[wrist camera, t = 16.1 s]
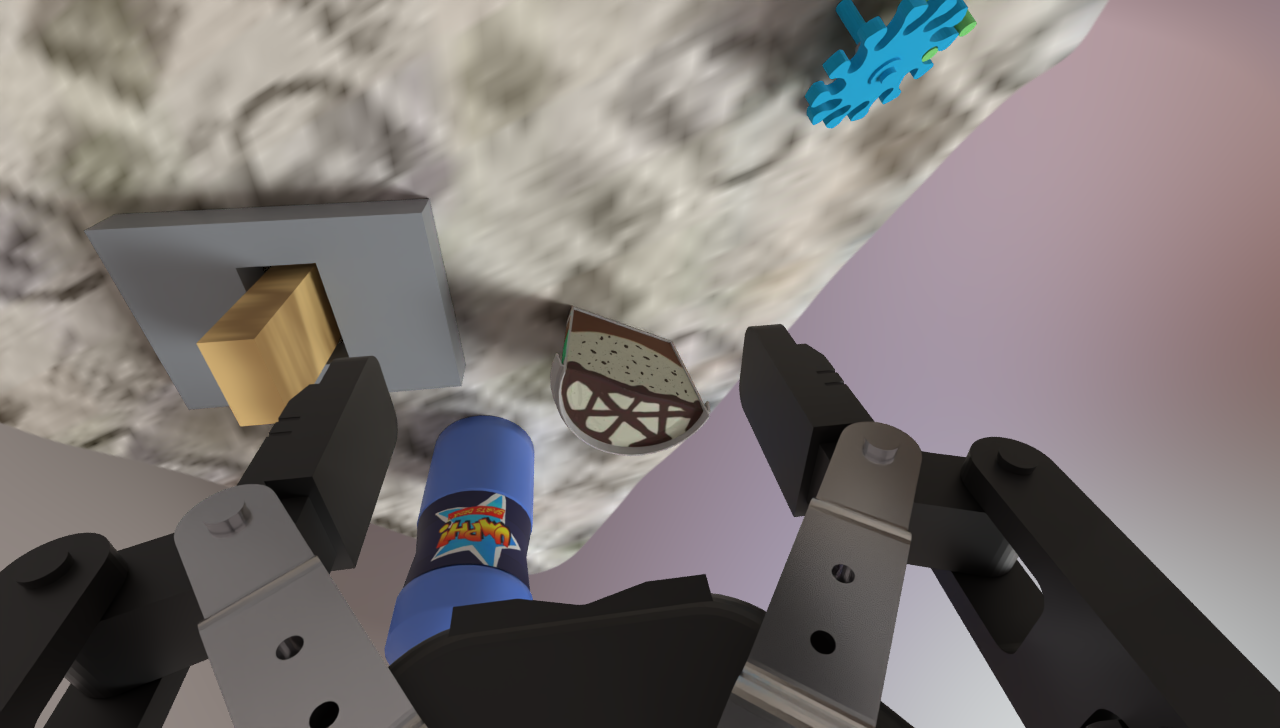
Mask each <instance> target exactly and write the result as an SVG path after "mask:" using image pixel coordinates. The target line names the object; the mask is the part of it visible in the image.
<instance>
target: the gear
mask: <svg viewBox="0 0 1280 728" xmlns="http://www.w3.org/2000/svg"><path fill="white" fill-rule="evenodd" d="M836 12H837V14H838V15H839V17H840V19H841V20H842V22H843V23H844V25H845V27H846V28H847V30H848V31H849V33H850V35H851V36H852V38H853V39H854V41H855V43H856V44H857V46H856V48H855V53H856V54H855V55H854V57H853V58H851V59H850V60H849V59H848V57H847V56H846V54H845V53H844V51H843V50H838V51H837V52H835V53H834V54H833V55H832V56H831V57H830V58H829V59H828V60H827V61H826V62H825V63H824V64H823V68H824V69H825V71H826V73H827V74H828V76H829V78H830V79H835V78H837V79H836V80H835V81H834V82H832V83H831V84H828V85H825V84H824V82H823V81H817V82H815V83H813V85H812V86H811V87H810V88H809V90H808V91H807V93H806V95H805V98H806V100H807V101H808V103H809V106H808V108H807V116H808V117H809V119H810V121H811V123H812V124H813V125H815V124H817V123H819V122H821V121H822V120H823V122H824V123H825V125H826V127H827V128H834V127H835V126H837V125H838V124H839V123H840V122H841V121H842V119H843V118H844V117H845V116H846V115H848V117H849V119H850V120H851V121H855V120H858V119H861V118H863V117H864V116H865V115H866V114H867V113H868V111H869V108H870V106H871V105H872V103H873V102H874V101H875V100H876V99H877V98H878V97H879V99H880V100H881V102H882V104H885V103H887V102H889V101H891V100H893V99H894V98H896V97H898V96H899V95H900V93H901V90H900V89H899V85H900V83H901V81H902V79H903V78H904V76H905V75H906V74H907V73H908V72H910V73H911V75H912V76H913V78H914V79H918V78H919V77H921V76H922V75H923V74H925V73H926V72H927V71H928V70H930V69H931V68H932V67H933V63H932V61H931V60H930V58H932V57H933V56H934V55H935V54H936V53H937V51H942V50H945V49H946V48H947V47H948V46H950V45H951V43H952V42H953V41H954V40H955V39H956V38H957V36H958V35H959V36H960V37H961V36H964V35H966V34H967V33H969V32H970V31H971V30H972V29H973V28H974V27H975V26H976V24H977V23H976V21H975V20H974V18H973V17H972V15H971V14H970V12H969V11H968V7H967V5H966V4H965V2H964V1H963V0H902V1H901V3H900V4H899V6H898V8H897V11H896V14H895V16H894V17H893V19H892V20H891V22H890V23H889V24H888V25H887V27H886V26H885V24H884V23H883V21H882V20H881V18H880V17H879V16H877V17H875V18H873V19H871V20H870V21H868V22H865V21H864V19H863V18H862V16H861V15H860V13H859V11H858V10H857V8H856V7H855V5H854V4H853V2H852V0H842V1H841V2H840V3H839V4H838V5H837V7H836Z"/></svg>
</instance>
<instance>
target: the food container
mask: <svg viewBox="0 0 1280 728" xmlns="http://www.w3.org/2000/svg"><path fill="white" fill-rule="evenodd" d="M550 380H551V390H552V394H553V398H554V401H555V404H556V406H557V409H558V411H559V413H560V416H561V418H562V419H563V421H564V422H565V424H566V425H567V427H568V428H569V429H570V430H571V431H572V432H573V433H574V434H575V435H576V436H577V437H578V438H579V439H581V440H582V441H583V442H585V443H586V444H588V445H590V446H592V447H594V448H596V449H598V450H601V451H604V452H607V453H611V454H617V455H627V456H635V455H646V454H652V453H656V452H660V451H663V450H666V449H668V448H671V447H673V446H676V445H677V444H679V443H681V442H683V441H684V440H686V439H688V438H689V437H690V436H692V435H693V434H694V433H696V432H697V430H699V428H701V427H702V426H703V425H704V423H705V422H706V421H707V420H708V418H709V414H710V405H709V402H708V401H707V402H706V403H705V405H704V403H703V401H702V399H701V397H700V395H699V393H698V391H697V389H696V387H695V385H694V383H693V381H692V379H691V377H690V375H689V373H688V371H687V369H686V367H685V365H684V363H683V362H682V360H681V358H680V356H679V354H678V352H677V350H676V348H675V346H674V344H673V342H672V341H670V340H667V339H665V338H662V337H659V336H656V335H653V334H650V333H648V332H645V331H642V330H639V329H636V328H634V327H631V326H628V325H625V324H622V323H619V322H617V321H614V320H611V319H608V318H605V317H602V316H600V315H597V314H594V313H591V312H588V311H586V310H583V309H580V308H577V307H574V306H571V309H570V312H569V315H568V318H567V326H566V333H565V340H564V348H563V355H562V363H561V360H560V357H559V354H558V353H556V354H555V357H554V360H553V363H552V368H551V374H550Z"/></svg>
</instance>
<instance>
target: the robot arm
mask: <svg viewBox="0 0 1280 728" xmlns="http://www.w3.org/2000/svg"><path fill="white" fill-rule="evenodd" d="M739 391H740V400H741V404H742V408H743V410H744V412H745V414H746V417H747V418H748V421H749V423H750V425H751V427H752V429H753V431H754V434H755V436H756V438H757V440H758V442H759V444H760V446H761V448H762V450H763V453H764V455H765V457H766V459H767V461H768V463H769V465H770V467H771V470H772V472H773V474H774V476H775V478H776V480H777V482H778V484H779V486H780V489H781V491H782V493H783V495H784V497H785V499H786V501H787V503H788V506H789V508H790V510H791V512H792V514H793V516H794V517H798V516H805V517H804V519H803V522H802V524H801V527H800V529H799V532H798V534H797V537H796V539H795V542H794V544H793V547H792V549H791V552H790V554H789V557H788V559H787V562H786V564H785V567H784V569H783V572H782V574H781V577H780V579H779V582H778V584H777V587H776V589H775V592H774V595H773V597H772V599H771V602H770V604H769V607H768V610H767V612H766V611H764V610H763V609H760V608H758V607H756V606H754V605H752V604H750V603H747V602H744V601H742V600H739V599H736V598H733V597H729V596H725V595H720V594H713V593H711V592H710V589H709V585H708V581H707V578H706V575H705V574H702V575H695V576H687V577H680V578H672V579H665V580H656V581H648V582H644V583H642V584H639V585H636V586H634V587H631V588H628V589H626V590H623V591H621V592H618V593H615V594H613V595H610V596H607V597H605V598H602V599H600V600H597V601H595V602H592V603H589V604H586V605H573V604H563V603H554V602H545V601H536V600H527V599H510V600H502V601H494V602H487V603H479V604H471V605H464V606H456V607H453V610H452V617H451V624H450V629H447V630H445V631H442V632H440V633H438V634H436V635H434V636H432V637H430V638H428V639H426V640H424V641H422V642H421V643H419V644H418V645H416V646H414V647H413V648H411V649H410V650H408V651H407V652H406V653H404V654H403V655H402V656H400V657H399V658H398V659H396V660H395V661H394V662H393V663H392V664H391V665H390V666H389V667H387V665H386V663H385V662H384V660H383V659H382V657H381V656H380V654H379V653H378V651H377V649H376V648H375V646H374V645H373V643H372V641H371V640H370V638H369V637H368V635H367V634H366V632H365V630H364V629H363V627H362V626H361V624H360V623H359V621H358V619H357V618H356V616H355V615H354V613H353V611H352V610H351V608H350V607H349V605H348V604H347V602H346V600H345V599H344V597H343V596H342V594H341V592H340V591H339V589H338V588H337V586H336V584H335V583H334V581H333V580H332V578H331V577H330V572H331V571H335V570H344V569H351V568H355V567H356V564H357V560H358V557H359V554H360V551H361V548H362V545H363V542H364V539H365V536H366V533H367V530H368V527H369V524H370V521H371V518H372V515H373V512H374V509H375V505H376V502H377V499H378V496H379V493H380V490H381V487H382V484H383V481H384V478H385V475H386V472H387V469H388V466H389V462H390V459H391V456H392V453H393V450H394V447H395V444H396V440H397V431H398V428H397V418H396V413H395V410H394V407H393V404H392V401H391V397H390V394H389V391H388V388H387V385H386V382H385V379H384V376H383V373H382V370H381V367H380V364H379V362H378V360H377V358H376V357H375V356H361V357H348V358H336V359H334V360H333V361H332V362H331V364H330V366H329V367H328V369H327V371H326V373H325V374H324V376H323V378H322V380H321V381H320V383H319V384H309V385H308V386H307V387H305V388H304V389H303V390H302V391H300V392H299V393H298V394H297V395H296V396H294V397H293V398H292V399H291V400H289V402H288V403H287V405H286V406H285V408H284V410H283V411H282V413H281V415H280V416H279V418H278V422H276V423H275V424H274V426H273V428H272V429H271V431H270V432H269V437H266V439H265V441H264V442H263V444H262V445H261V447H260V449H259V450H258V452H257V453H256V455H255V457H254V458H253V460H252V462H251V463H250V465H249V466H248V468H247V470H246V471H245V473H244V475H243V476H242V478H241V479H240V481H239V483H238V484H237V486H235V487H231V488H228V489H225V490H223V491H220V492H218V493H215V494H213V495H211V496H210V497H208V498H206V499H204V500H203V501H201V502H200V503H199V504H197V505H196V506H194V507H193V508H192V509H191V510H190V511H189V512H187V513H186V514H185V516H184V517H183V518H182V519H181V521H180V522H179V523H178V525H177V527H176V530H175V533H173V534H169V535H166V536H163V537H160V538H157V539H154V540H151V541H148V542H144V543H141V544H138V545H135V546H132V547H129V548H126V549H122V550H119V551H117V550H116V549H115V548H114V547H113V546H112V544H111V543H110V542H109V541H108V540H107V538H106V537H104V536H102V535H100V534H96V533H78V534H73V535H68V536H65V537H62V538H58V539H56V540H53V541H50V542H48V543H46V544H43V545H41V546H39V547H37V548H35V549H33V550H31V551H29V552H27V553H26V554H24V555H23V556H21V557H19V558H18V559H16V560H15V561H14V562H12V563H11V564H10V565H8V566H7V567H6V568H5V569H3V570H2V571H1V572H0V728H34V727H35V724H36V722H37V719H38V718H39V716H40V714H41V712H42V711H43V709H44V708H45V706H46V705H47V703H48V701H49V700H50V698H51V697H52V695H53V693H54V692H55V690H56V689H57V687H58V686H59V684H60V683H61V681H62V680H63V678H64V677H65V678H66V679H67V680H68V681H69V682H70V683H71V684H70V686H69V687H68V689H67V691H66V692H65V694H64V695H63V697H62V699H61V700H60V702H59V703H58V705H57V707H56V708H55V710H54V711H53V713H52V715H51V716H50V718H49V719H48V721H47V723H46V724H45V726H44V728H162V726H163V724H164V722H165V720H166V718H167V715H168V713H169V711H170V709H171V706H172V704H173V702H174V700H175V698H176V696H177V694H178V691H179V689H180V687H181V685H182V683H183V681H184V678H185V676H186V674H187V672H188V670H189V668H190V666H191V665H194V664H196V663H199V662H201V661H204V660H206V659H209V660H210V663H211V666H212V668H213V671H214V674H215V677H216V679H217V682H218V685H219V687H220V690H221V693H222V695H223V698H224V701H225V703H226V706H227V709H228V712H229V714H230V717H231V720H232V722H233V725H234V728H914V727H913V726H912V725H910V724H909V723H908V722H906V721H905V720H904V719H903V718H901V717H900V716H899V715H898V714H897V713H895V712H894V711H892V709H890V708H889V707H888V706H886V705H885V704H884V703H882V702H881V695H882V690H883V685H884V680H885V675H886V669H887V664H888V659H889V654H890V649H891V643H892V638H893V633H894V628H895V622H896V617H897V612H898V607H899V601H900V596H901V591H902V585H903V580H904V575H905V570H906V565H907V564H910V565H917V566H922V567H929V568H931V569H932V571H933V572H934V574H935V576H936V577H937V579H938V581H939V583H940V584H941V586H942V588H943V589H944V591H945V592H946V594H947V596H948V598H949V599H950V601H951V603H952V604H953V606H954V608H955V609H956V611H957V613H958V614H959V616H960V618H961V620H962V621H963V623H964V625H965V626H966V628H967V630H968V631H969V633H970V635H971V636H972V638H973V640H974V641H975V643H976V645H977V647H978V648H979V650H980V652H981V653H982V655H983V657H984V658H985V660H986V662H987V663H988V665H989V667H990V668H991V670H992V672H993V673H994V675H995V677H996V678H997V680H998V682H999V684H1000V685H1001V687H1002V688H1003V690H1004V692H1005V694H1006V695H1007V697H1008V699H1009V700H1010V702H1011V704H1012V705H1013V707H1014V709H1015V711H1016V712H1017V714H1018V716H1019V717H1020V719H1021V721H1022V722H1023V724H1024V726H1025V727H1026V728H1280V692H1279V691H1278V690H1277V689H1276V688H1275V687H1274V685H1272V684H1271V682H1270V681H1269V680H1268V679H1267V678H1266V677H1265V676H1263V674H1262V673H1261V672H1260V671H1259V670H1258V669H1257V668H1256V667H1255V666H1254V665H1253V664H1252V663H1251V662H1250V661H1249V660H1248V659H1247V658H1246V657H1245V656H1244V655H1243V654H1242V653H1241V652H1240V651H1239V650H1238V649H1237V648H1236V647H1235V646H1234V645H1233V644H1232V643H1231V642H1230V641H1229V640H1228V639H1227V638H1226V637H1225V636H1224V635H1223V634H1222V633H1221V632H1220V631H1219V630H1218V629H1217V628H1216V627H1215V626H1214V625H1213V624H1212V623H1211V621H1210V620H1209V619H1208V618H1207V617H1206V616H1205V615H1204V614H1203V613H1202V612H1201V611H1200V610H1199V609H1198V608H1197V607H1196V606H1194V604H1193V603H1192V602H1191V601H1190V600H1189V599H1188V598H1187V597H1186V596H1185V595H1184V594H1183V593H1182V592H1181V591H1180V590H1179V589H1178V588H1177V587H1176V586H1175V585H1174V584H1173V583H1172V582H1171V581H1170V580H1169V579H1168V578H1167V577H1166V576H1165V575H1164V574H1163V573H1162V572H1161V571H1160V570H1159V569H1158V568H1157V567H1156V566H1155V565H1154V564H1153V563H1152V562H1151V561H1150V560H1149V559H1148V557H1147V556H1146V555H1144V554H1143V553H1142V551H1141V550H1140V549H1139V548H1138V547H1137V546H1136V545H1135V544H1134V543H1133V542H1132V541H1131V540H1130V539H1129V538H1128V537H1127V536H1126V535H1125V534H1124V533H1123V532H1122V531H1121V530H1120V529H1119V528H1118V527H1117V526H1116V525H1115V524H1114V523H1113V522H1112V521H1111V520H1110V519H1109V518H1108V517H1107V516H1106V515H1105V514H1104V513H1103V512H1102V511H1101V510H1100V509H1099V508H1098V507H1097V506H1096V505H1095V504H1094V503H1093V502H1092V501H1091V500H1090V499H1089V498H1088V497H1087V496H1086V495H1085V493H1083V491H1081V489H1079V487H1078V486H1077V485H1076V484H1075V483H1074V482H1072V480H1071V479H1070V478H1069V477H1068V476H1067V475H1066V474H1065V473H1064V472H1063V471H1062V470H1061V469H1060V468H1059V467H1058V466H1057V465H1056V464H1055V463H1054V462H1053V461H1052V460H1051V459H1050V458H1049V457H1047V456H1046V455H1045V454H1043V453H1042V452H1040V451H1039V450H1037V449H1035V448H1033V447H1031V446H1029V445H1027V444H1025V443H1022V442H1019V441H1016V440H1012V439H1008V438H1002V437H987V438H983V439H979V440H977V441H975V442H974V443H973V444H972V446H971V448H970V450H969V452H968V455H967V457H960V456H952V455H943V454H936V453H929V452H923V451H921V449H920V448H919V446H918V444H917V443H916V442H915V441H914V440H913V439H912V438H911V437H910V436H909V435H908V434H906V433H904V432H903V431H901V430H899V429H897V428H895V427H893V426H890V425H887V424H883V423H878V422H874V420H873V419H872V418H871V417H870V415H869V414H868V412H867V411H866V410H865V409H864V407H863V406H862V405H861V403H860V402H859V401H858V399H857V398H856V397H855V395H854V394H853V393H852V391H851V390H850V389H849V387H848V386H847V385H846V384H844V381H843V380H842V378H841V377H840V376H839V374H838V373H835V369H834V368H833V366H832V365H831V364H830V363H829V361H828V360H827V359H826V357H825V356H824V355H823V354H821V353H819V352H818V351H816V350H815V349H813V348H812V347H810V346H809V345H807V344H796V343H795V341H794V340H793V338H792V337H791V336H790V334H789V333H788V331H787V330H786V328H785V327H784V326H783V325H782V324H775V325H763V326H750V327H748V328H747V330H746V333H745V338H744V347H743V356H742V365H741V373H740V383H739ZM1018 556H1019V557H1020V559H1021V560H1022V561H1023V562H1024V564H1025V565H1026V566H1027V568H1028V569H1029V571H1030V572H1031V573H1032V574H1033V576H1034V577H1035V578H1036V580H1037V581H1038V583H1039V585H1040V587H1041V590H1042V592H1041V591H1040V590H1039V589H1038V587H1037V586H1036V585H1035V583H1034V582H1033V581H1032V579H1031V578H1030V577H1029V575H1028V574H1027V573H1026V571H1025V570H1024V569H1023V567H1022V566H1021V565H1020V563H1019V562H1018V561H1017V558H1018ZM1042 593H1043V594H1042Z"/></svg>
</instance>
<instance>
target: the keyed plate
mask: <svg viewBox="0 0 1280 728" xmlns="http://www.w3.org/2000/svg"><path fill="white" fill-rule="evenodd" d="M84 231H85V233H86V235H87V237H88V238H89V240H90V242H91V243H92V245H93V247H94V248H95V250H96V252H97V254H98V255H99V257H100V259H101V260H102V262H103V264H104V266H105V267H106V269H107V271H108V272H109V274H110V276H111V278H112V279H113V281H114V283H115V284H116V286H117V288H118V289H119V291H120V293H121V295H122V296H123V298H124V300H125V301H126V303H127V305H128V307H129V308H130V310H131V312H132V313H133V315H134V317H135V319H136V320H137V322H138V324H139V325H140V327H141V329H142V330H143V332H144V334H145V336H146V337H147V339H148V341H149V342H150V344H151V346H152V348H153V349H154V351H155V353H156V354H157V356H158V358H159V359H160V361H161V363H162V365H163V366H164V368H165V370H166V371H167V373H168V375H169V377H170V378H171V380H172V382H173V383H174V385H175V387H176V389H177V390H178V392H179V394H180V395H181V397H182V399H183V400H184V402H185V404H186V406H187V407H188V409H189V410H190V409H201V408H213V407H224V406H229V404H228V402H227V400H226V398H225V397H224V395H223V393H222V391H221V389H220V387H219V385H218V383H217V381H216V380H215V378H214V376H213V374H212V372H211V370H210V368H209V366H208V364H207V363H206V361H205V359H204V357H203V355H202V353H201V351H200V349H199V347H198V346H197V344H196V343H197V342H198V341H199V340H200V339H201V338H202V337H203V336H204V335H205V334H206V333H207V332H208V331H209V330H210V329H211V328H212V327H213V326H214V325H215V324H216V323H217V322H218V321H219V320H220V318H221V317H222V316H223V315H224V314H225V313H226V312H227V311H228V310H229V309H230V308H231V307H232V306H233V305H234V304H235V303H236V302H237V301H238V300H239V299H240V298H241V297H242V296H243V295H244V294H245V293H246V292H247V291H248V290H249V289H250V288H251V287H252V286H253V285H254V284H255V283H256V282H257V281H258V280H259V279H260V278H261V277H262V275H263V274H264V271H263V269H262V266H275V265H291V264H308V263H316V265H317V268H318V271H319V274H320V277H321V279H322V282H323V285H324V288H325V291H326V293H327V296H328V299H329V302H330V305H331V307H332V310H333V313H334V316H335V319H336V321H337V324H338V327H339V330H340V333H341V335H342V338H343V341H344V343H338V344H337V345H336V347H335V349H334V351H333V352H332V354H331V356H330V358H329V359H328V361H327V363H326V364H325V366H324V368H323V370H322V371H321V373H320V375H319V377H318V378H317V380H316V382H315V383H314V384H319V383H320V381H321V380H322V378H323V376H324V374H325V373H326V371H327V369H328V367H329V366H330V364H331V362H332V361H333V360H334V359H336V358H348V357H361V356H375V357H376V358H377V360H378V362H379V364H380V367H381V370H382V373H383V376H384V379H385V382H386V385H387V388H388V391H389V392H398V391H409V390H421V389H432V388H444V387H455V386H462V381H463V376H464V372H465V367H466V363H465V359H464V354H463V350H462V345H461V340H460V336H459V331H458V327H457V322H456V318H455V313H454V308H453V304H452V299H451V295H450V290H449V286H448V281H447V276H446V272H445V267H444V263H443V258H442V254H441V249H440V244H439V240H438V235H437V231H436V226H435V222H434V217H433V213H432V208H431V203H430V199H412V200H392V201H372V202H352V203H332V204H311V205H291V206H271V207H251V208H231V209H210V210H190V211H170V212H150V213H130V214H114V215H112V216H111V217H109V218H107V219H105V220H103V221H101V222H99V223H97V224H95V225H94V226H92V227H90V228H88V229H86V230H84Z"/></svg>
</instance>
